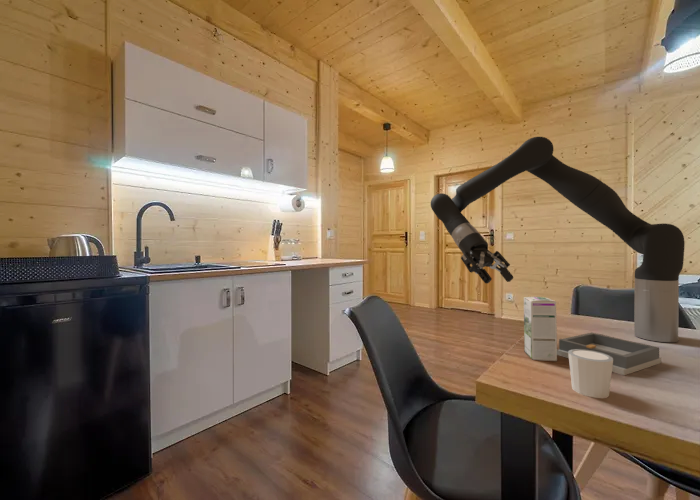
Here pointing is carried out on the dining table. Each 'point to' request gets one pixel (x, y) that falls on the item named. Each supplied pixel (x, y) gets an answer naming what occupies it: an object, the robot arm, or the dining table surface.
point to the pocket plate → (614, 351)
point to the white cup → (590, 372)
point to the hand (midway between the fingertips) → (500, 280)
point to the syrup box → (540, 328)
